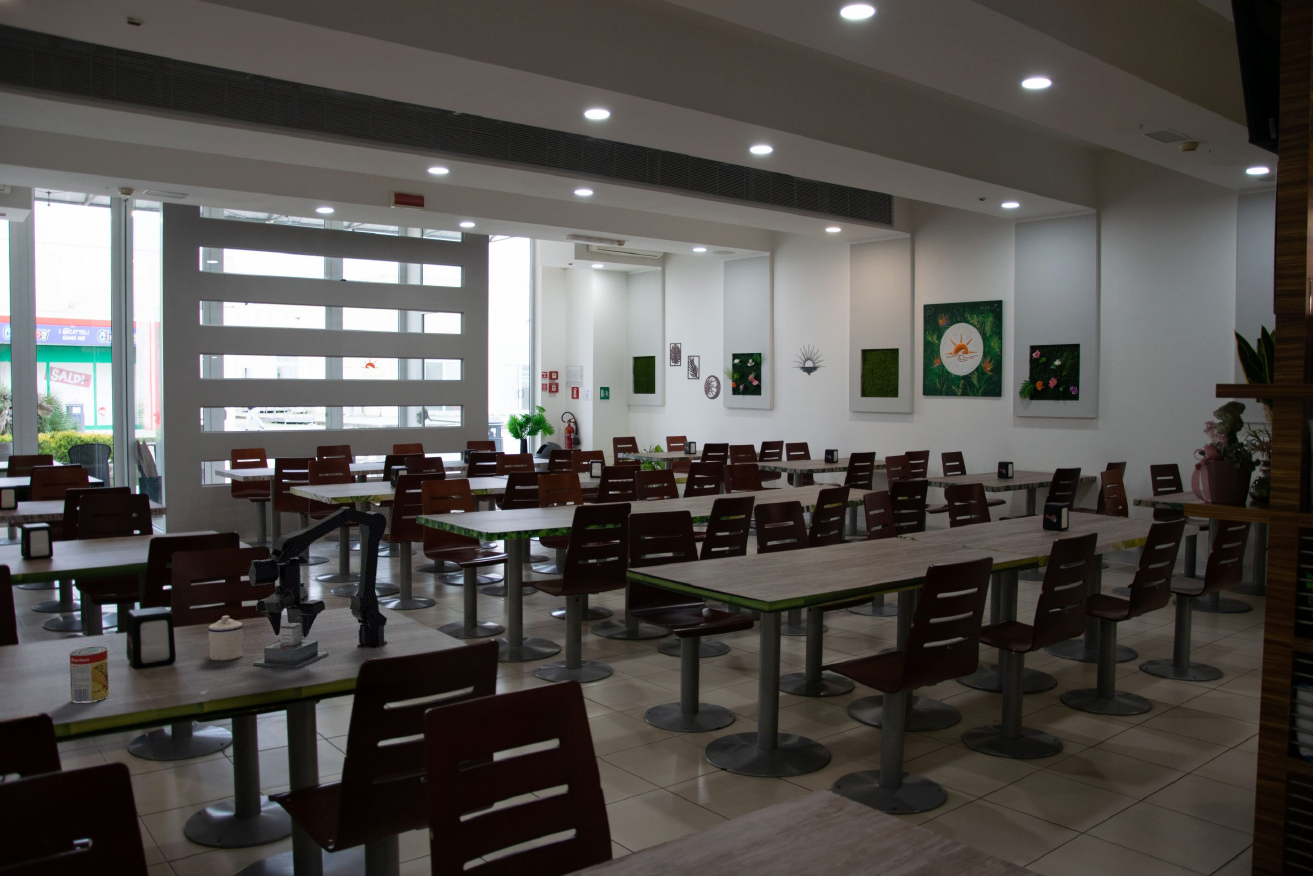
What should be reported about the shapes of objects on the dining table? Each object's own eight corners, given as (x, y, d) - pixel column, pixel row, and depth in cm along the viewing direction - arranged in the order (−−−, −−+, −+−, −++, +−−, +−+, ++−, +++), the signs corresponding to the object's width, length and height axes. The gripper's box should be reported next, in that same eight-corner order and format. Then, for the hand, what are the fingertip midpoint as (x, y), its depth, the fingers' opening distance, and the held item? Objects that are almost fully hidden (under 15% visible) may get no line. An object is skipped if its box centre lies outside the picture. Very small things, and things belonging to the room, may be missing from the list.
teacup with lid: (250, 655, 269) (249, 614, 269) (222, 662, 261) (221, 621, 261) (224, 649, 275) (223, 610, 275) (195, 657, 267) (194, 616, 267)
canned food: (114, 693, 234) (112, 645, 234) (100, 703, 226) (99, 654, 226) (80, 695, 233) (78, 647, 233) (65, 705, 225) (63, 655, 225)
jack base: (328, 655, 268) (327, 639, 268) (297, 668, 254) (296, 651, 254) (286, 652, 272) (286, 636, 272) (253, 665, 258) (253, 648, 258)
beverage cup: (300, 635, 291) (299, 571, 290) (279, 634, 292) (278, 571, 292) (314, 630, 298) (312, 567, 297) (293, 629, 299) (291, 567, 299)
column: (302, 655, 265) (301, 623, 264) (292, 659, 260) (292, 627, 260) (289, 654, 266) (289, 622, 265) (280, 658, 262) (279, 626, 261)
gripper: (241, 585, 257) (243, 641, 258) (300, 587, 252) (301, 645, 253) (268, 577, 268) (270, 631, 268) (325, 580, 263) (326, 635, 263)
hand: (291, 636), depth 263 cm, fingers open, 9 cm apart
